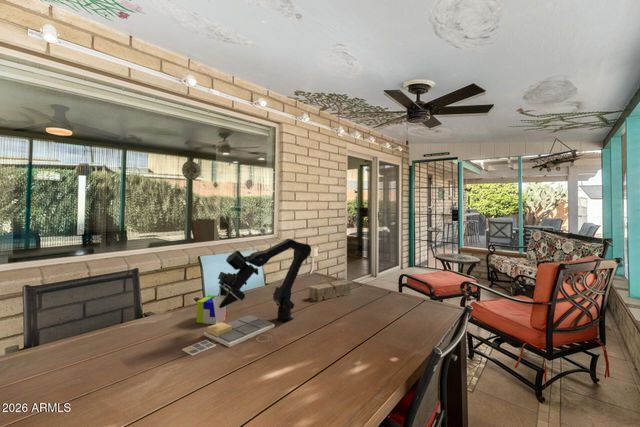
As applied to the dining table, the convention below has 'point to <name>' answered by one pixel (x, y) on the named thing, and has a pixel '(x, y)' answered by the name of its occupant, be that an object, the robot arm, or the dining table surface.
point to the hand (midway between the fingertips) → (217, 305)
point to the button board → (242, 330)
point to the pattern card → (198, 347)
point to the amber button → (219, 329)
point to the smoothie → (219, 312)
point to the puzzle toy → (206, 310)
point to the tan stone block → (329, 290)
